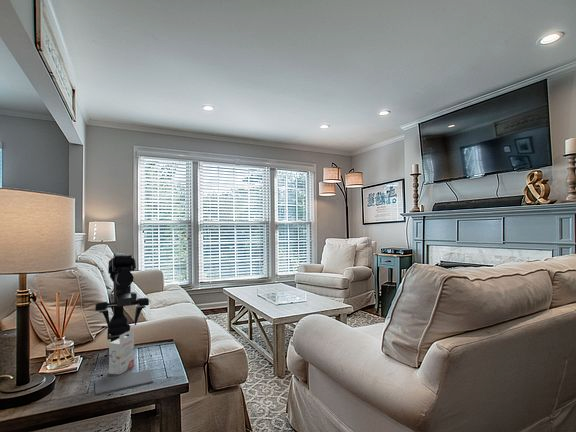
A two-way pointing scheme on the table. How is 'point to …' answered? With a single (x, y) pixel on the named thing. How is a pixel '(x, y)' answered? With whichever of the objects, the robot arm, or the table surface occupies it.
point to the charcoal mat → (122, 382)
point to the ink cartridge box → (121, 353)
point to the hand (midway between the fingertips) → (122, 326)
